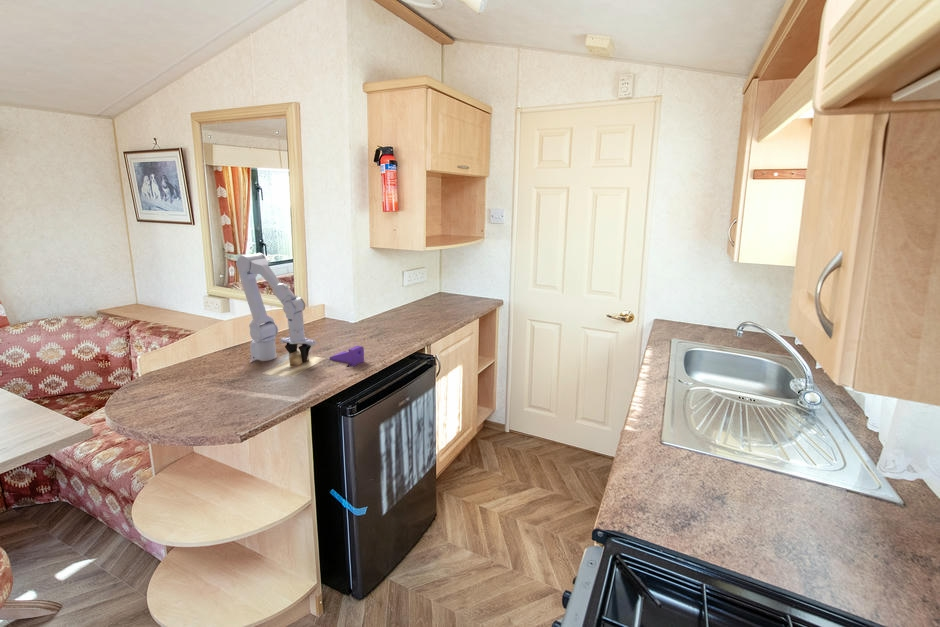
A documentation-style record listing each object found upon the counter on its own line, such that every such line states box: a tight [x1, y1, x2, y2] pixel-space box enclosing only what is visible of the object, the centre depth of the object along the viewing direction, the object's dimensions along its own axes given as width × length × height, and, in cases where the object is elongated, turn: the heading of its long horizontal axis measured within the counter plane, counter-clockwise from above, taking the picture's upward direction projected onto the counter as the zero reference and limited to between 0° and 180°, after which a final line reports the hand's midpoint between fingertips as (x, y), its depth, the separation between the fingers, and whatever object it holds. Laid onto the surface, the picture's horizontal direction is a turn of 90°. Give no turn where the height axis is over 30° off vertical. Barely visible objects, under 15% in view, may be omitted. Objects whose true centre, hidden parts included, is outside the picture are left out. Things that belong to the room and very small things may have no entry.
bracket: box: [329, 345, 365, 367], centre depth 196 cm, size 12×7×7 cm, turn 64°
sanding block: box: [288, 349, 310, 366], centre depth 192 cm, size 4×7×4 cm, turn 163°
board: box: [261, 355, 326, 378], centre depth 190 cm, size 14×22×1 cm, turn 164°
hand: (299, 361), depth 193 cm, fingers closed on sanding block, 4 cm apart
